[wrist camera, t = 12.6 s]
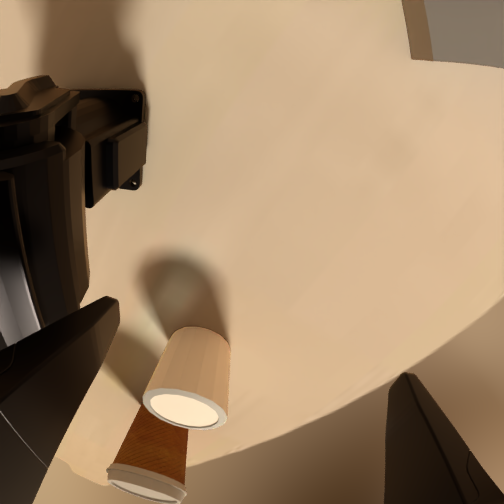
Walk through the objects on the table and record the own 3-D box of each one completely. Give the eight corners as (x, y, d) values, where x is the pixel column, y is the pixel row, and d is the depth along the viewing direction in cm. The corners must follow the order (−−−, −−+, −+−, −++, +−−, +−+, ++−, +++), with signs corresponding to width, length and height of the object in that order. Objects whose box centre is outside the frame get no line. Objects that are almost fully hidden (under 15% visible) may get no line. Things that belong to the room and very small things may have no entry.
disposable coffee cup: (217, 422, 37) (202, 507, 27) (165, 429, 41) (147, 502, 31) (165, 385, 33) (138, 481, 23) (116, 396, 37) (88, 474, 27)
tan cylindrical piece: (195, 309, 26) (173, 379, 20) (253, 352, 28) (245, 420, 23) (150, 340, 29) (127, 401, 23) (204, 376, 31) (191, 436, 25)
